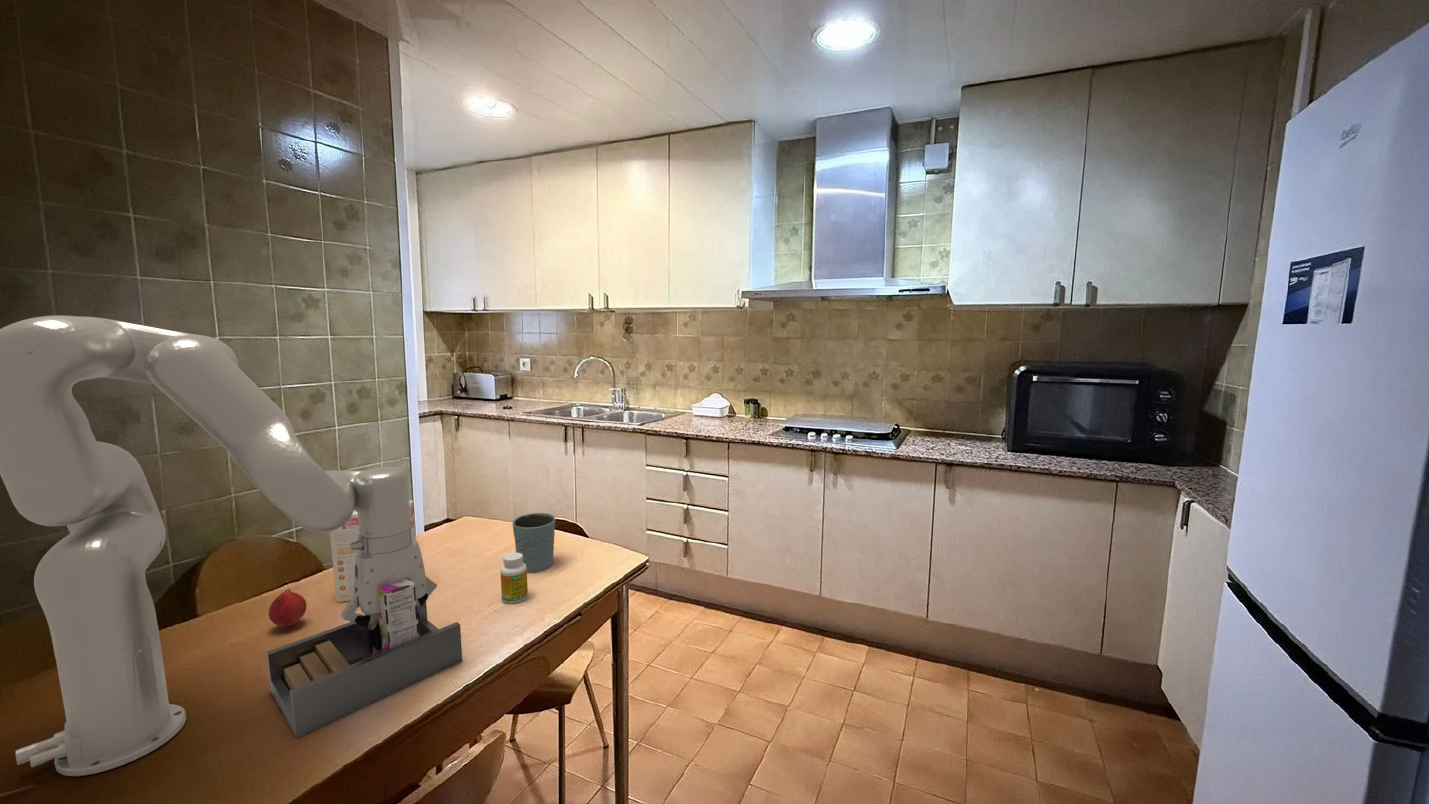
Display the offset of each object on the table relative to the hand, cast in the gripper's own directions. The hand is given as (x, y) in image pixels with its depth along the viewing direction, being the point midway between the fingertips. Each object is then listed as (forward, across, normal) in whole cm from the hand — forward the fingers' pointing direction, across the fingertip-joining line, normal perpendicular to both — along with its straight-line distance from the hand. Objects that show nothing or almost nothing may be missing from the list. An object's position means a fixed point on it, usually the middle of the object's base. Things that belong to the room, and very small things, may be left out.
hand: (394, 638), depth 94 cm
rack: (+5, -4, 0) cm, 6 cm away
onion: (+5, -9, +29) cm, 31 cm away
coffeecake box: (+5, +8, +32) cm, 33 cm away
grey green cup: (+5, +38, +17) cm, 42 cm away
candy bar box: (+5, 0, 0) cm, 5 cm away
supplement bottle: (+5, +26, +6) cm, 27 cm away
